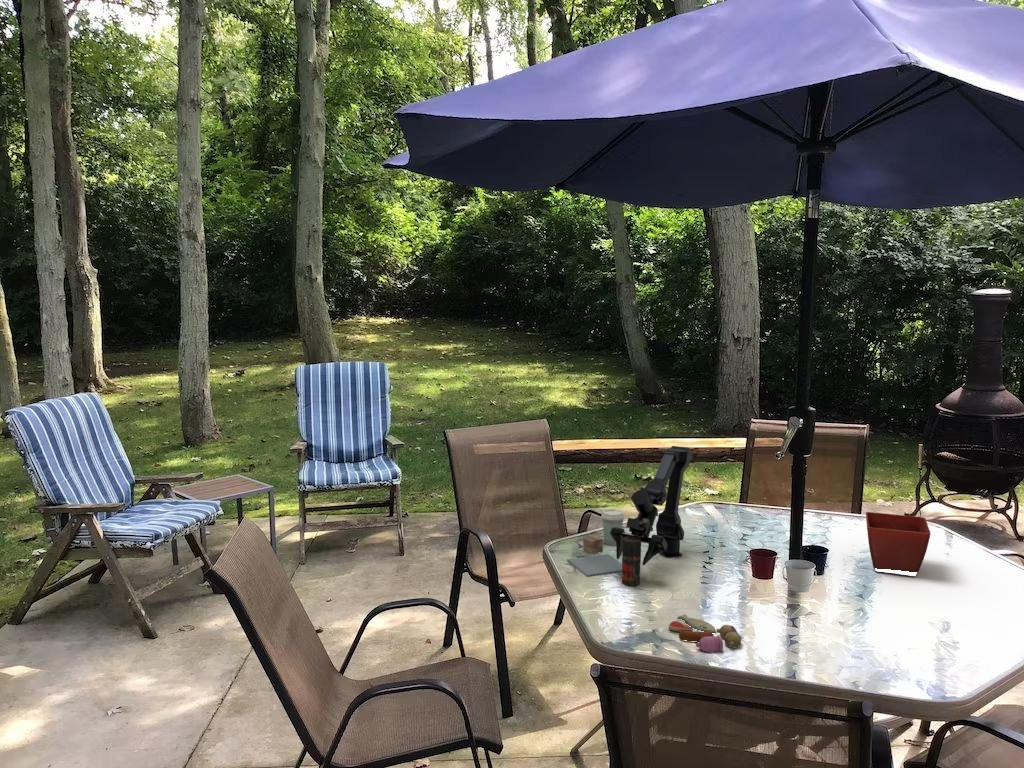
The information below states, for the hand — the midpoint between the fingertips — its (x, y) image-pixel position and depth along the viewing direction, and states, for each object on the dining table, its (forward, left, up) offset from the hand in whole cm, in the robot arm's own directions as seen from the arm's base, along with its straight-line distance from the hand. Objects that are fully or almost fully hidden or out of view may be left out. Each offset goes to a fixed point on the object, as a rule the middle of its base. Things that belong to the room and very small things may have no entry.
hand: (630, 561), depth 263 cm
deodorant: (-1, -1, -8) cm, 8 cm away
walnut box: (-3, -33, -8) cm, 34 cm away
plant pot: (-93, +19, -8) cm, 95 cm away
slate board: (+2, -19, -8) cm, 20 cm away
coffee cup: (-14, -39, -8) cm, 42 cm away
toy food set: (-1, +42, -8) cm, 43 cm away
